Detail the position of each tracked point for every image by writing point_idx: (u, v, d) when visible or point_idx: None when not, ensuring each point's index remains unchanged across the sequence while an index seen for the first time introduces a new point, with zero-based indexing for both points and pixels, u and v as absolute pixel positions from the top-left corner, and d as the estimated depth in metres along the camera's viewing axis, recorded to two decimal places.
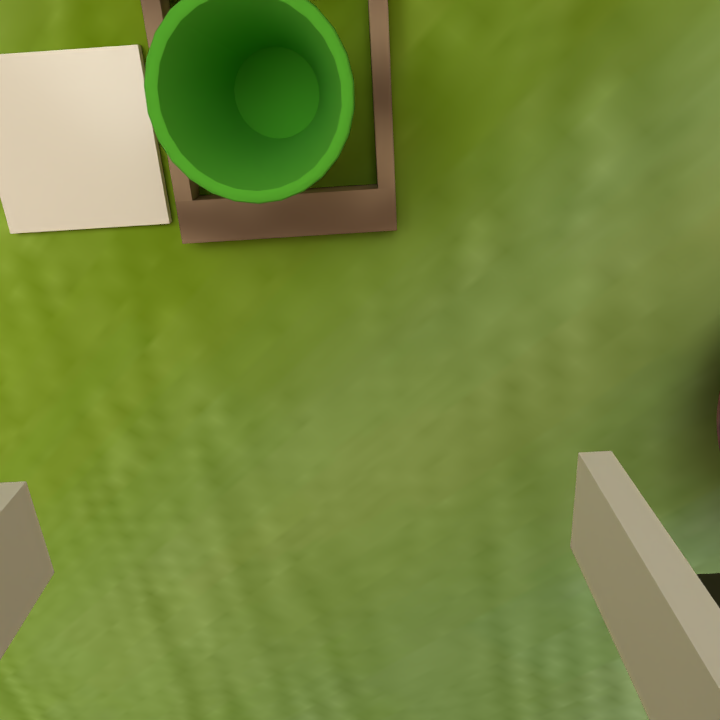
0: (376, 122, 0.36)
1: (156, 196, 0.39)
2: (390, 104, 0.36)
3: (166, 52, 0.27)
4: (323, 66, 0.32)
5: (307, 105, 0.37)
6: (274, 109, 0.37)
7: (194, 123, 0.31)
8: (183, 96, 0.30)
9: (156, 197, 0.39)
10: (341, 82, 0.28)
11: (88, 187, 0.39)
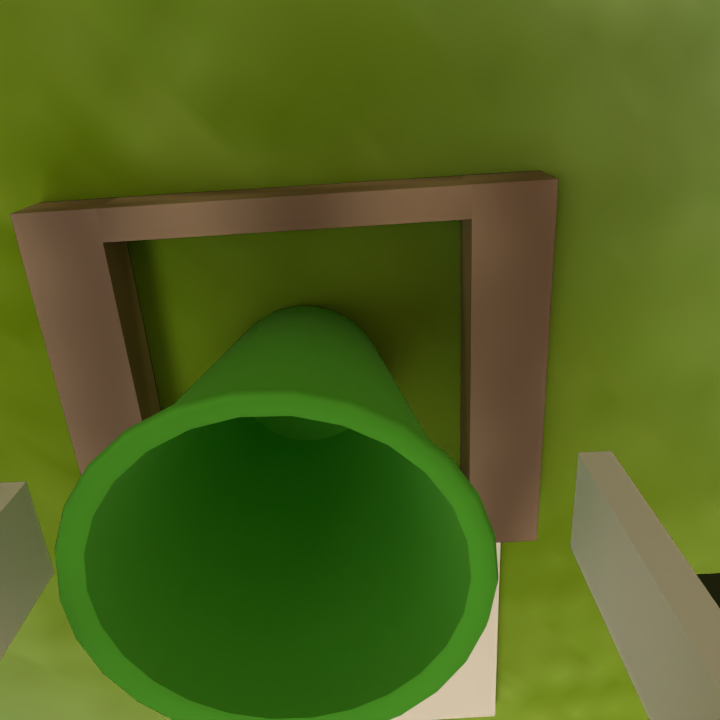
0: (348, 223, 0.19)
1: None
2: (316, 197, 0.19)
3: (213, 692, 0.15)
4: None
5: None
6: None
7: (341, 595, 0.18)
8: (296, 616, 0.17)
9: None
10: (237, 416, 0.12)
11: None
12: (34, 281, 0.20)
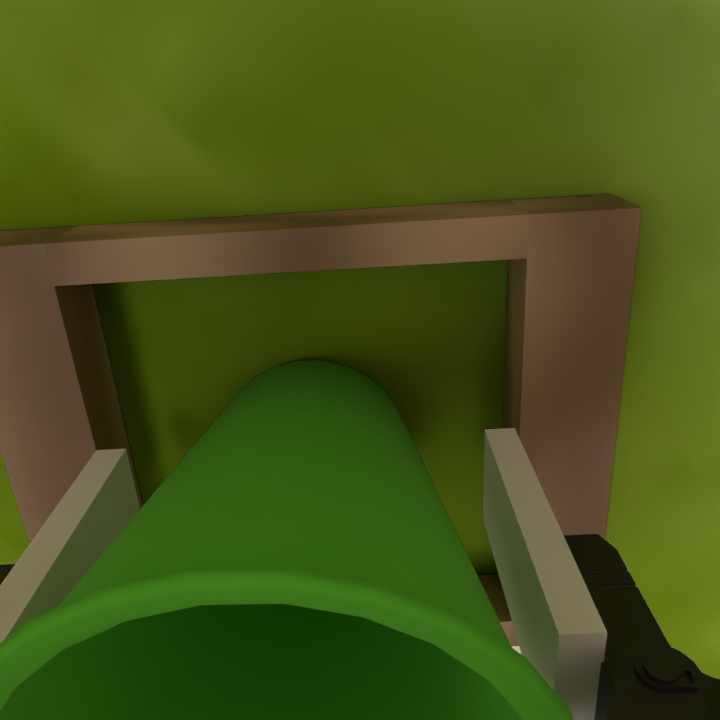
0: (368, 263, 0.15)
1: None
2: (326, 230, 0.15)
3: None
4: None
5: None
6: None
7: None
8: None
9: None
10: (199, 604, 0.08)
11: None
12: None
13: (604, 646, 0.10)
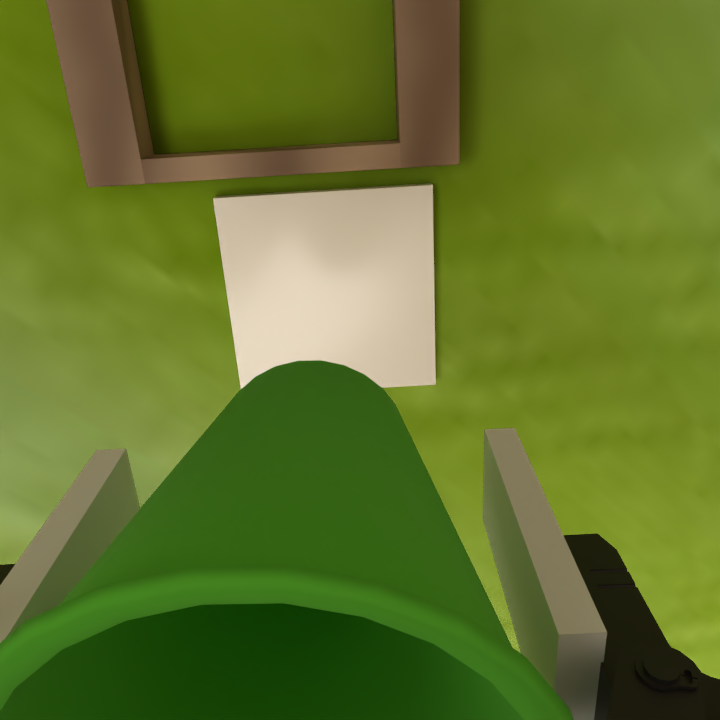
0: None
1: (396, 198, 0.29)
2: None
3: None
4: None
5: None
6: None
7: None
8: None
9: (396, 198, 0.29)
10: (199, 603, 0.08)
11: (383, 284, 0.31)
12: None
13: (604, 646, 0.10)
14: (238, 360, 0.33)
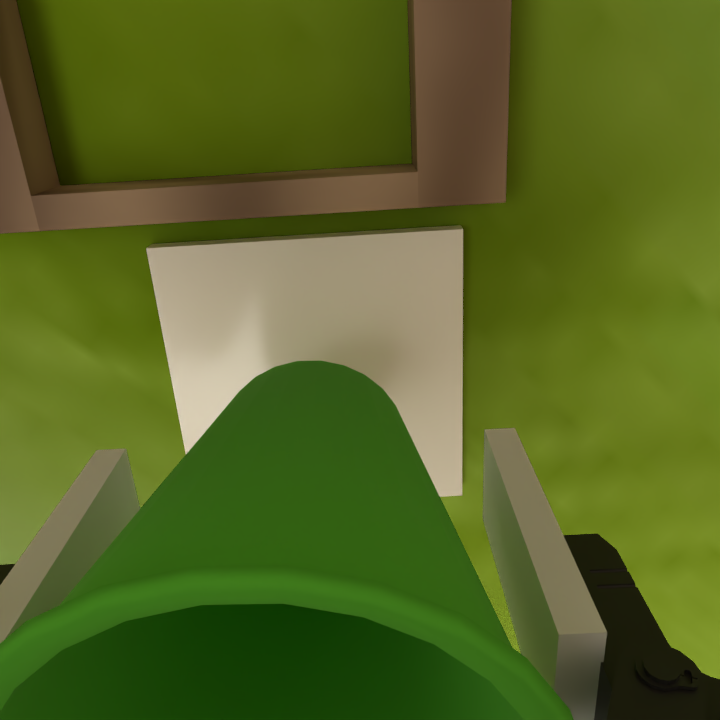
0: None
1: (409, 247, 0.20)
2: None
3: None
4: None
5: None
6: None
7: None
8: None
9: (410, 247, 0.20)
10: (199, 603, 0.08)
11: (390, 365, 0.22)
12: None
13: (604, 646, 0.10)
14: None
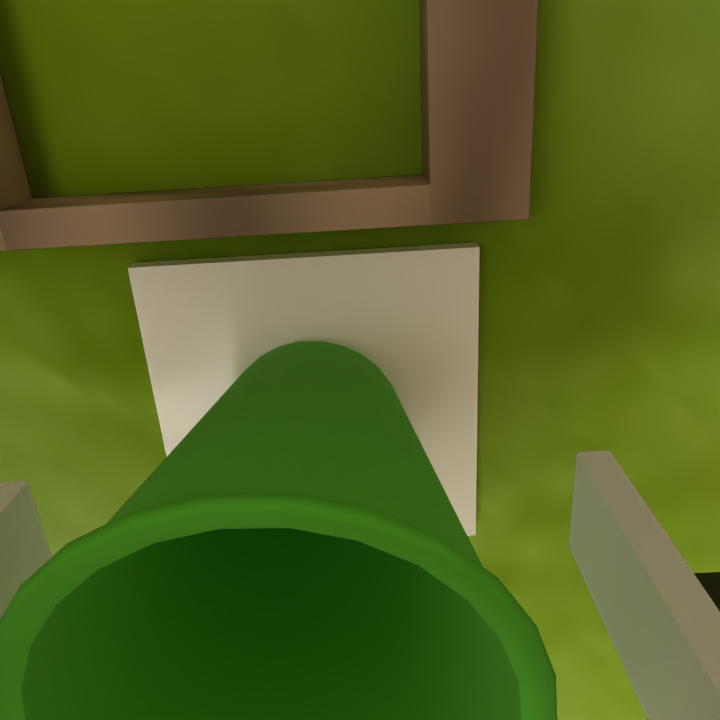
0: None
1: (420, 267, 0.18)
2: None
3: None
4: None
5: None
6: None
7: (352, 700, 0.15)
8: None
9: (421, 267, 0.18)
10: (216, 528, 0.09)
11: (398, 396, 0.20)
12: None
13: None
14: None
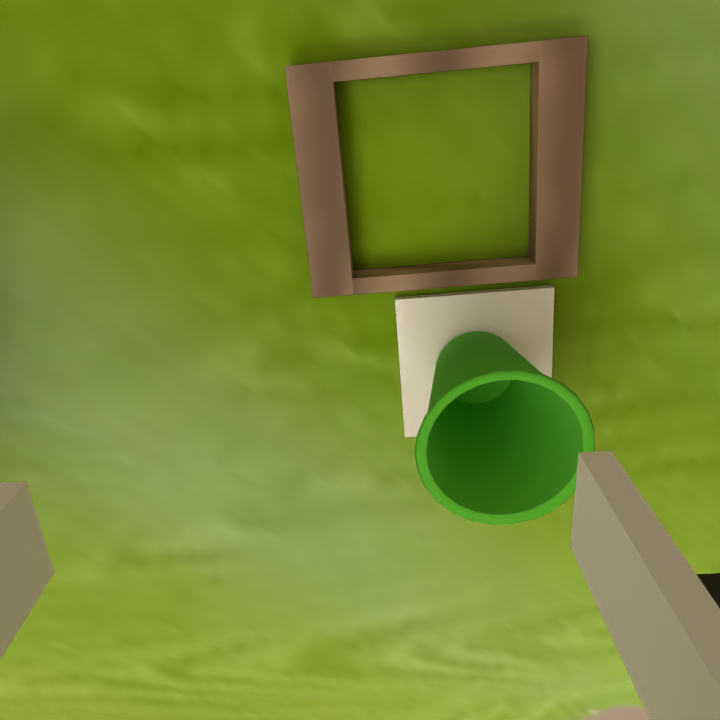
0: (469, 66, 0.34)
1: (527, 297, 0.41)
2: (452, 51, 0.34)
3: (466, 503, 0.35)
4: None
5: None
6: None
7: (512, 470, 0.37)
8: (492, 479, 0.37)
9: (527, 297, 0.41)
10: (497, 380, 0.31)
11: None
12: (293, 106, 0.35)
13: None
14: (404, 412, 0.44)
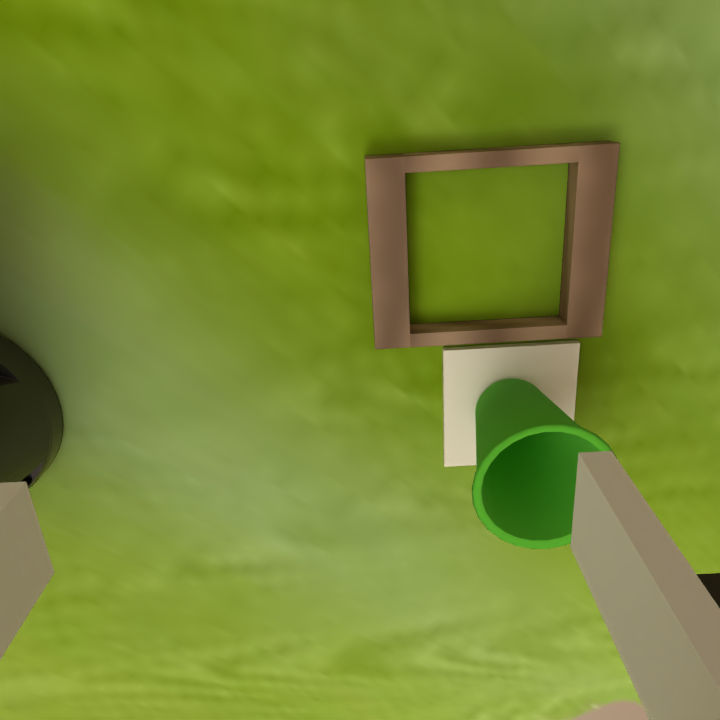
0: (520, 164, 0.41)
1: (556, 350, 0.48)
2: (506, 151, 0.41)
3: (511, 531, 0.41)
4: None
5: None
6: None
7: (546, 502, 0.44)
8: (529, 509, 0.43)
9: (557, 350, 0.48)
10: (544, 431, 0.38)
11: None
12: (369, 192, 0.42)
13: None
14: (445, 445, 0.51)
